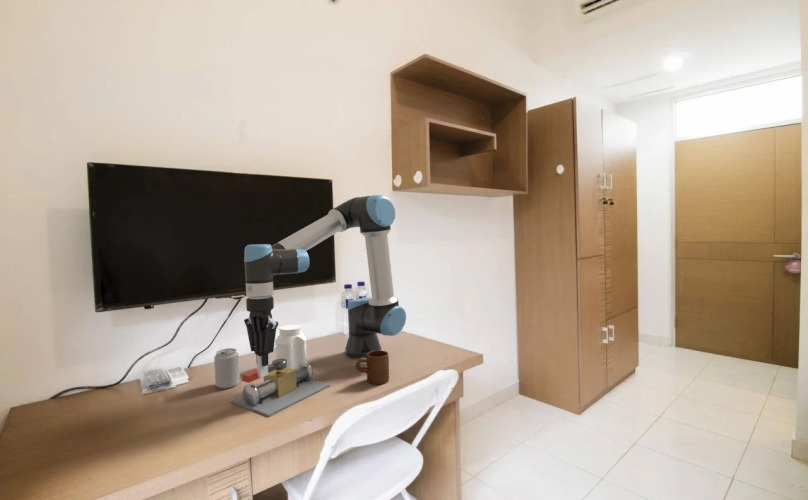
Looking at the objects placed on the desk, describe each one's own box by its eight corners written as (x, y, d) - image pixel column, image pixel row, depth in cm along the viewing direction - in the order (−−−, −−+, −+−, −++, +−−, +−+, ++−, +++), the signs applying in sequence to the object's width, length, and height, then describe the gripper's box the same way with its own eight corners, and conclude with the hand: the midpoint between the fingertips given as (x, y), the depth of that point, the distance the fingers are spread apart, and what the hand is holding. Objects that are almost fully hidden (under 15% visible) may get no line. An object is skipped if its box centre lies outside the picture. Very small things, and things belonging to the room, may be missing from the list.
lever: (279, 363, 125) (279, 357, 125) (289, 365, 123) (289, 359, 123) (240, 380, 111) (240, 373, 111) (250, 383, 109) (250, 376, 109)
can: (212, 385, 129) (210, 351, 129) (234, 379, 135) (232, 345, 134) (221, 391, 124) (219, 355, 124) (243, 384, 130) (242, 350, 129)
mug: (361, 390, 123) (360, 361, 123) (351, 382, 130) (350, 355, 129) (393, 381, 129) (392, 354, 129) (382, 374, 136) (382, 348, 135)
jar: (282, 372, 140) (281, 332, 139) (272, 366, 147) (270, 327, 146) (311, 364, 147) (310, 326, 147) (300, 358, 155) (299, 322, 154)
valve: (300, 379, 133) (299, 356, 133) (314, 383, 130) (313, 359, 129) (242, 404, 115) (241, 377, 114) (257, 410, 111) (255, 382, 110)
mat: (293, 375, 137) (293, 374, 137) (330, 386, 127) (330, 384, 127) (231, 402, 117) (231, 400, 117) (269, 416, 107) (268, 414, 107)
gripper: (235, 297, 112) (238, 376, 113) (262, 300, 105) (266, 384, 106) (257, 293, 119) (260, 368, 120) (284, 296, 112) (287, 375, 113)
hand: (262, 375), depth 113 cm, fingers closed
